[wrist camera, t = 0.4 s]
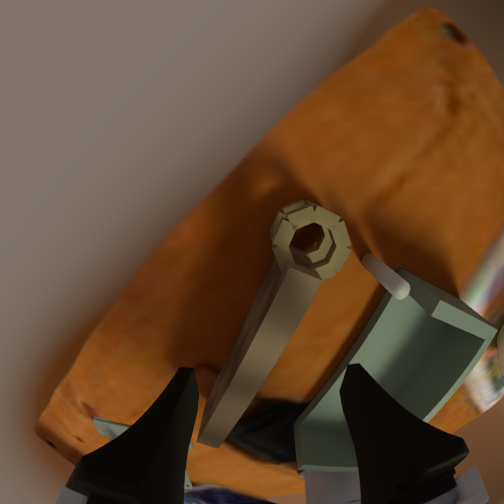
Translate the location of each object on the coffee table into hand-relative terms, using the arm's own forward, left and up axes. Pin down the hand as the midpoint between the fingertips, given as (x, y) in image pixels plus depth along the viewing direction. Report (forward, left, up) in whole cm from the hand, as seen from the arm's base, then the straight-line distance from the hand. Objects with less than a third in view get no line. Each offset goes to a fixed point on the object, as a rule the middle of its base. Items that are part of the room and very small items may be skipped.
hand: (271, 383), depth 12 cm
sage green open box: (-4, -12, -10) cm, 16 cm away
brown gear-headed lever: (-3, 0, -10) cm, 11 cm away
